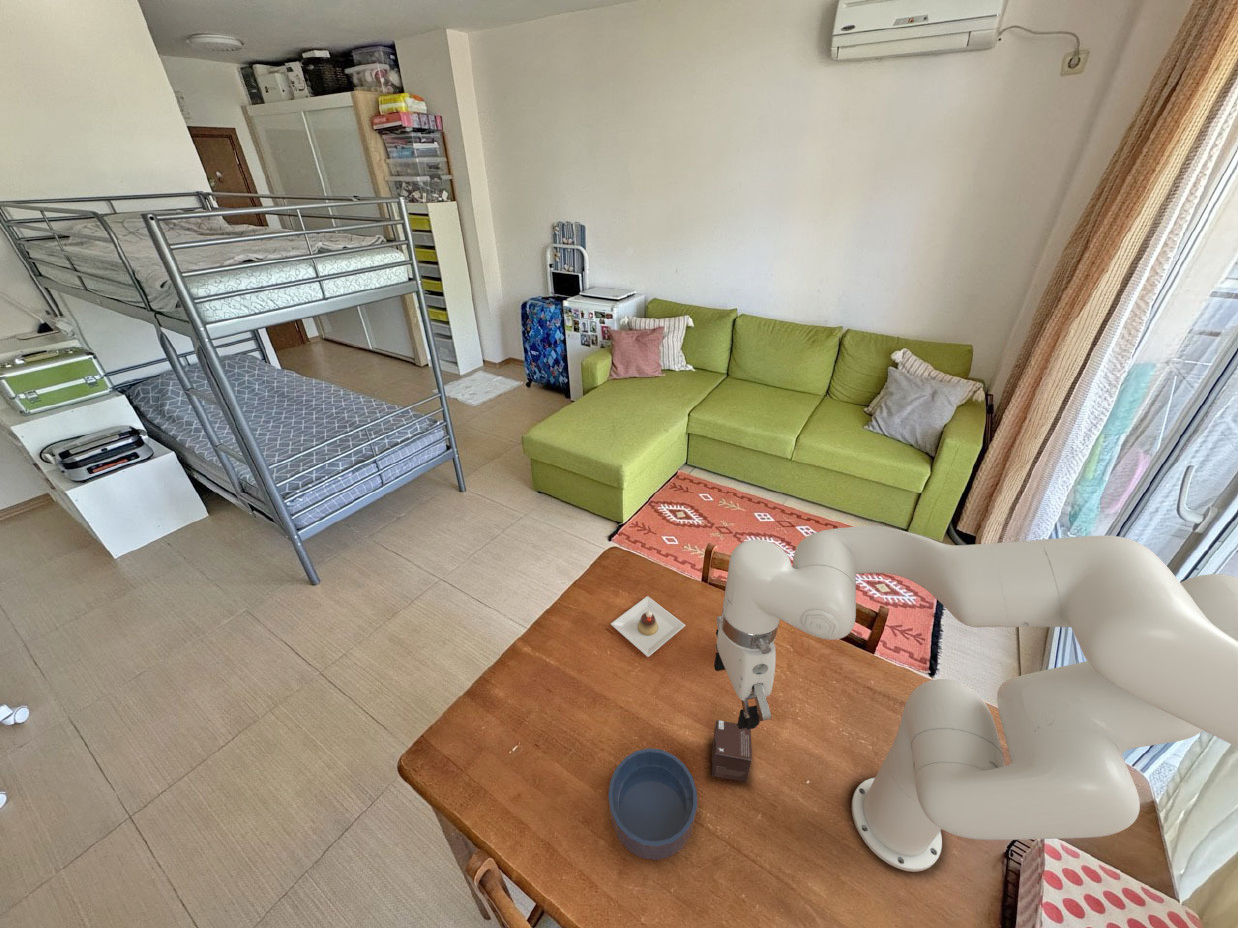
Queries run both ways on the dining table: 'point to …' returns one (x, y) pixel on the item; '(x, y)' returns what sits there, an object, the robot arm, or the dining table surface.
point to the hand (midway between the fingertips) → (735, 695)
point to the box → (731, 751)
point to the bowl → (652, 803)
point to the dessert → (647, 625)
